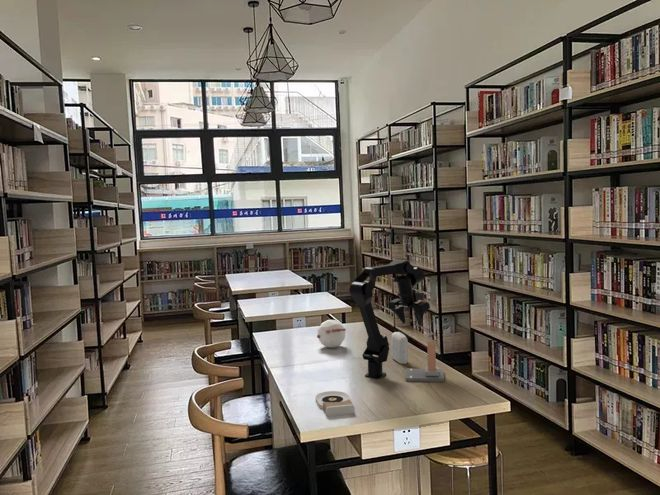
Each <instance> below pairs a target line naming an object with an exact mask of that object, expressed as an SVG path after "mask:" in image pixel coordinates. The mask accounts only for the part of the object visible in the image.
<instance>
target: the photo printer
mask: <svg viewBox="0 0 660 495" xmlns="http://www.w3.org/2000/svg"><path fill="white" fill-rule="evenodd" d="M390 340H391V343H390V344H391V359H392V360H395V361H396V362H397V363H399V364H401V365H406V364H407V363H409V344H408V342H409V339H408V338H407V336H406V335H405V334H404V333H402V332H400V331H394V332H393V333H391V339H390Z"/></svg>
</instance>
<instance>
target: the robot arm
mask: <svg viewBox="0 0 660 495" xmlns="http://www.w3.org/2000/svg"><path fill="white" fill-rule="evenodd" d="M393 274H395V277H394V278H393V280H392V283H397V288H398V292H397V294H396V295H397V297H399V298H395V299H392V300H390V301H388V309H390V310H391V311H392V312H393V313H394V314H395V315H396V316H397V317H398V319H399V320H400V322H402V324H404V325H405V324H406V316H405V311H404V310H405V308H410V309H413V311H414V312H413V314H414V317H415V320H416V322H417V324H418V326H419V327H421V326H422V325H423V320H424V315H425V312H426V311H428V310H429V309H431V305H430V302H428V301H424V298H425V293H424V292H417V291H416V290H415V289H414V288H413V286H416V285H418V284H420V283H422V282H423V281H425V273H424V272H423V271H422V270H421V269H420V267H419V266H414V267H413V265H412V264H411V262H410V260H402V259H395V260H393V261H390V263H388V264H382V265H376V266H370V267H369V266H367V267H364V268H363V270H362V271H361V273H360V274H359V275H357V276H356V277H355V278H354V279H353V281H352V282H351V284H350V285H349V286H350V287H349V288H348V289H349V290H348V291H349V295H350V296H351V298H352V301H354V302H355V303H356V304H357V305H358V308H359V311H360V314H361V317H362V320H363V324H364V329H365V331H366V333H367V340H366V348H365V350H364V351H363V353H362V359H363V360H364V361H365V360H366V361H367V373H366V374H364V377H367V378H372V379H381V378H383V377H385V376H386V375H387V373H386V372H384V371H383V370H384V368H383V363H385V362H387V361H388V356H389V353H390V352H389V351H390V344H391V343H389V341H388V340H389V339H388V337H387V335H384V334H381V331H380V327H379V324H378V321H377V318H376V314H375V312H374V307H373V305H372V304H373V303H372V300H373V297H374V296H373V290H374V289H375V287H376V279H377V278H378V277H383V276H388V275H389V276H390V275H393ZM368 278H369V280H368V282H365V281H366V280H367V279H368ZM419 300H420V301H419Z"/></svg>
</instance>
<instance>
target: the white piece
mask: <svg viewBox="0 0 660 495" xmlns="http://www.w3.org/2000/svg"><path fill="white" fill-rule="evenodd" d="M316 338H317V339H318V341H319V342H320V344H321V345H323V346H324V347H326V348H330V349H335V348H337V347H339V346H342V343H343V342H344V340H345V338H346V328H344V326H343V324H342V323H340V322H339V321H338V320H336V319H327V320H325V321H323V322H322V323H320V326H318V329H317V335H316Z"/></svg>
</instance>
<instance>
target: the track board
mask: <svg viewBox="0 0 660 495" xmlns="http://www.w3.org/2000/svg"><path fill="white" fill-rule="evenodd" d="M438 371H439V376H425V368H406V370H405V382H421V383H422V382H423V383H424V382H427V383H428V382H433V383H445V375H444V369H443V368H438Z"/></svg>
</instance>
